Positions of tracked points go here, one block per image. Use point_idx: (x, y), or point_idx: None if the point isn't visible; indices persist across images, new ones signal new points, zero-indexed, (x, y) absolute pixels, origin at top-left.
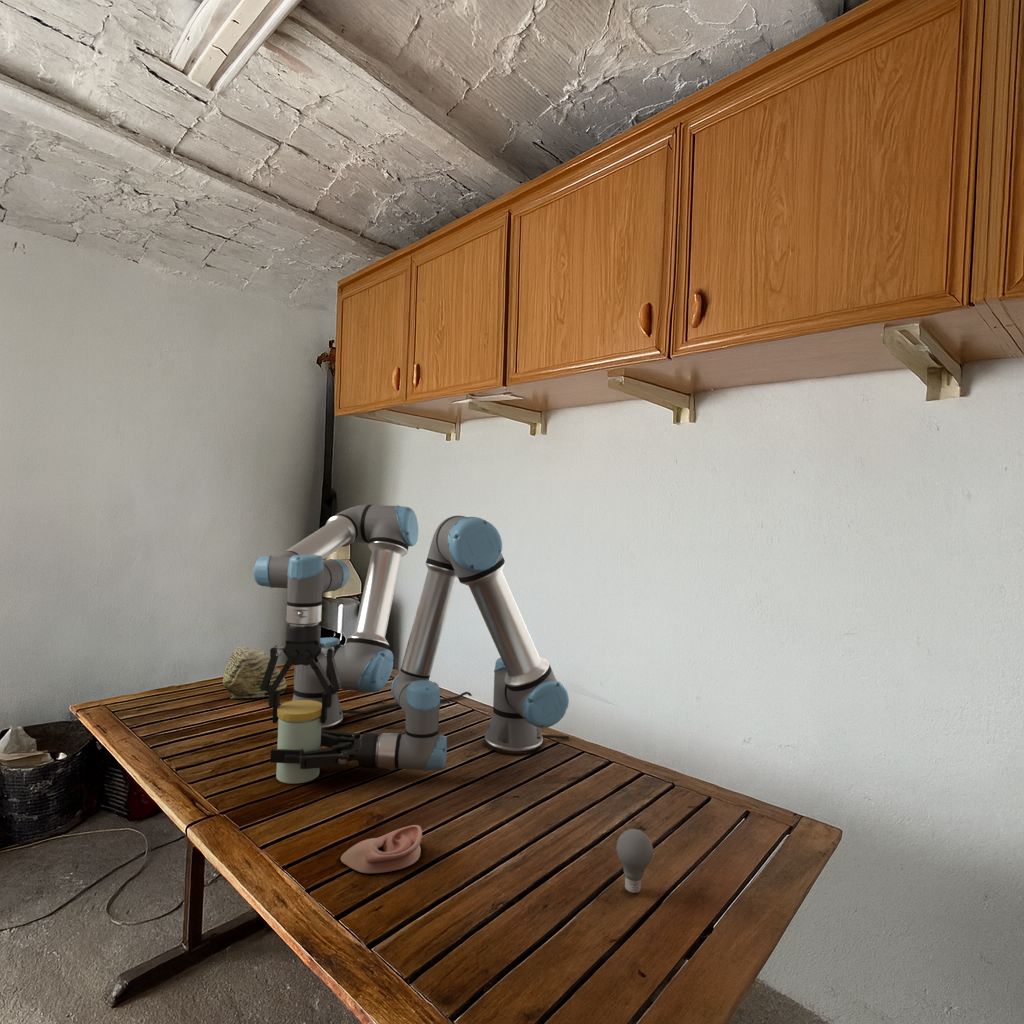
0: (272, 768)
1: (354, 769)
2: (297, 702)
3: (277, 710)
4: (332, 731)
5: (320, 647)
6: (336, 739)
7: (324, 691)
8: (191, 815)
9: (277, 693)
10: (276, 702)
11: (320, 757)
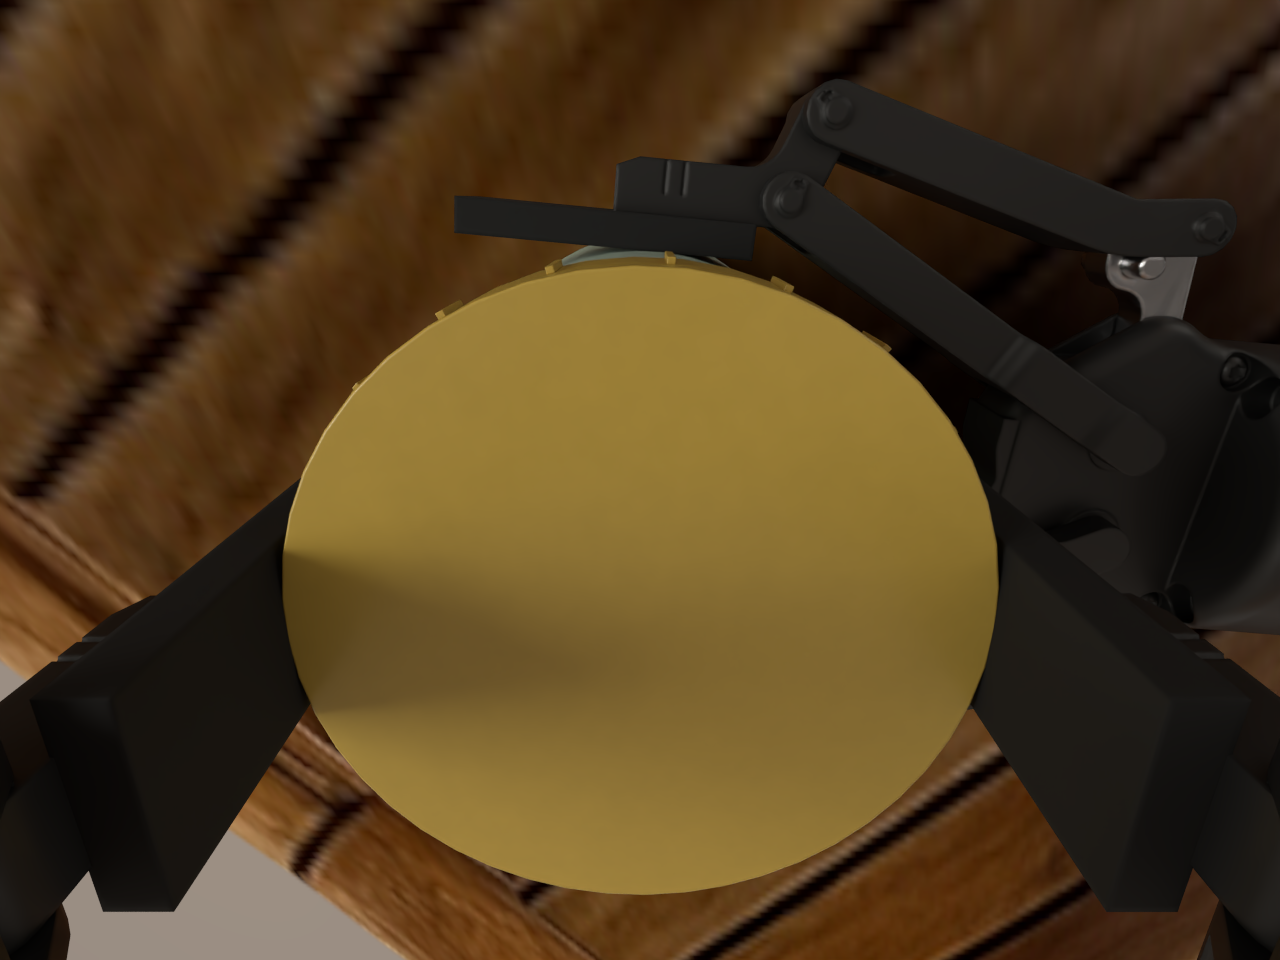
0: (436, 278)
1: (1016, 296)
2: (530, 424)
3: (339, 736)
4: (934, 147)
5: None
6: (978, 372)
7: (1167, 726)
8: (258, 804)
9: (154, 865)
10: (253, 784)
11: None
